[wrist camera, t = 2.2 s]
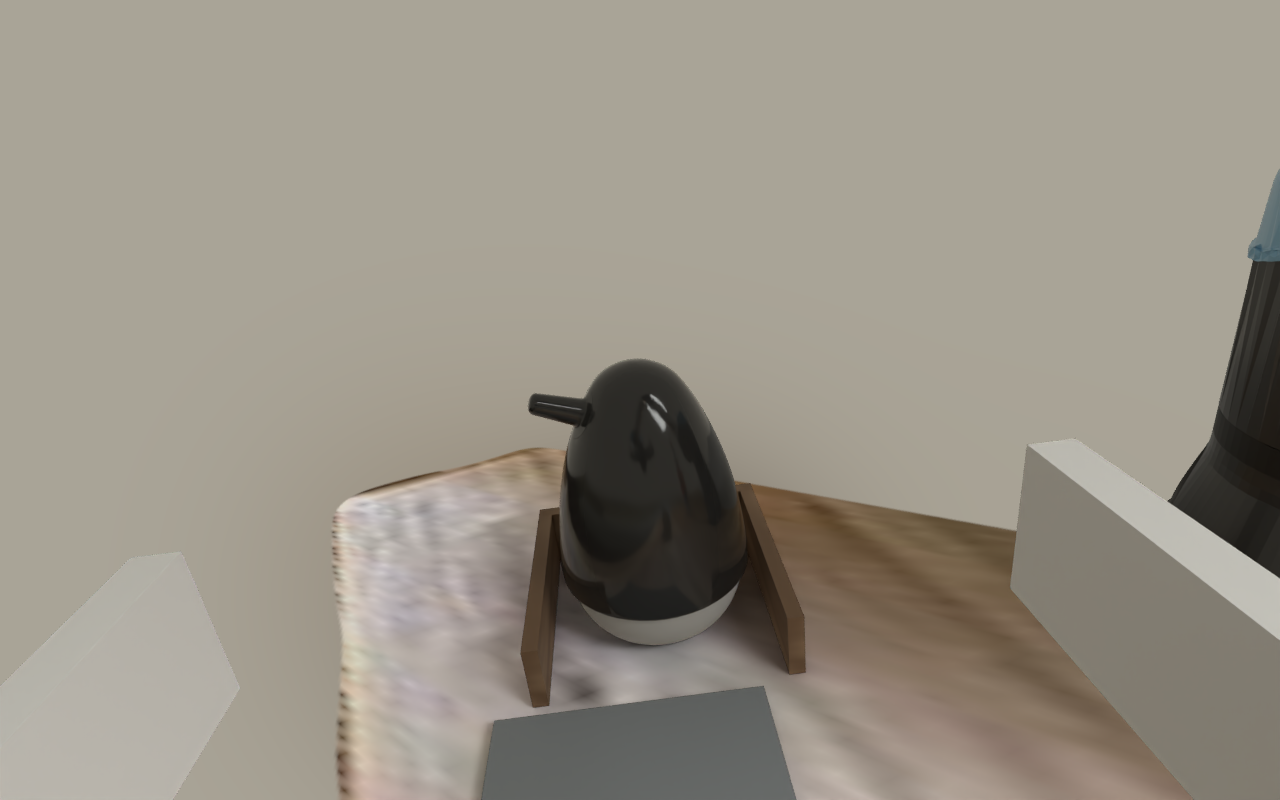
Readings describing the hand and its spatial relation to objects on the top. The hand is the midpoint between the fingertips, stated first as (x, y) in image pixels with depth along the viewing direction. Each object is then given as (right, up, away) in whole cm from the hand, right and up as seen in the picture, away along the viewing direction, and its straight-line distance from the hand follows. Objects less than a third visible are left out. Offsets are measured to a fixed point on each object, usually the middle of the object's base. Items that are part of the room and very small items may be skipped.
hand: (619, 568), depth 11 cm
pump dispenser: (+2, -10, +29) cm, 31 cm away
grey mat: (0, -14, +19) cm, 23 cm away
